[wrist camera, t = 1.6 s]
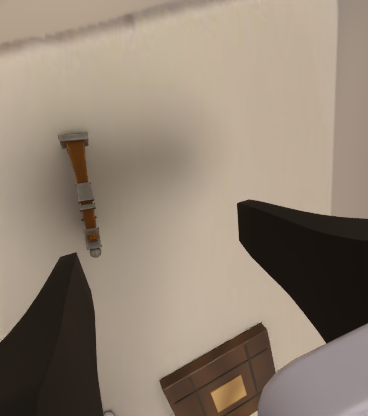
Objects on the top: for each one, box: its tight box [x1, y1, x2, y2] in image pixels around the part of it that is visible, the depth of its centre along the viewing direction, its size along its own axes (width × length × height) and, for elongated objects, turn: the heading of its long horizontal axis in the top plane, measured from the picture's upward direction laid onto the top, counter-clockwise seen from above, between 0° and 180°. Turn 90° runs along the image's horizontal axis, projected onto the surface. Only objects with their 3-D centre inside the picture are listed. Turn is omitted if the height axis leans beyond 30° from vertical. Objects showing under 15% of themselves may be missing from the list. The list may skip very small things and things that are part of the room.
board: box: [160, 323, 276, 416], centre depth 34 cm, size 13×13×1 cm
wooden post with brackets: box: [58, 132, 102, 258], centre depth 20 cm, size 2×8×4 cm, turn 3°
